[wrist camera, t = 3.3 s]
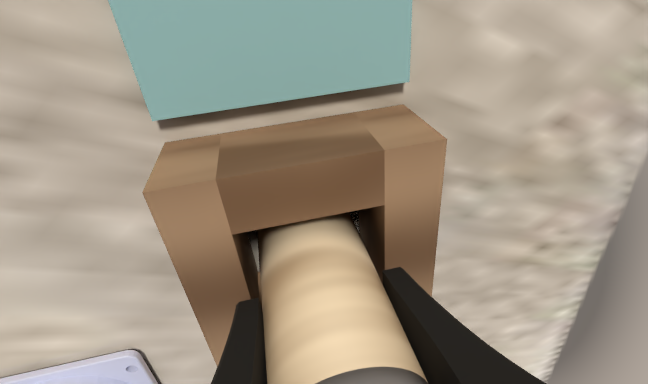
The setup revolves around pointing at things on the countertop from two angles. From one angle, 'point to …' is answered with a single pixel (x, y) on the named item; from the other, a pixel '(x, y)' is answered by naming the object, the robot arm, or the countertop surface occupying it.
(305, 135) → the walnut block
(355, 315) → the maple plug
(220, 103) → the teal mat
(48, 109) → the countertop surface
